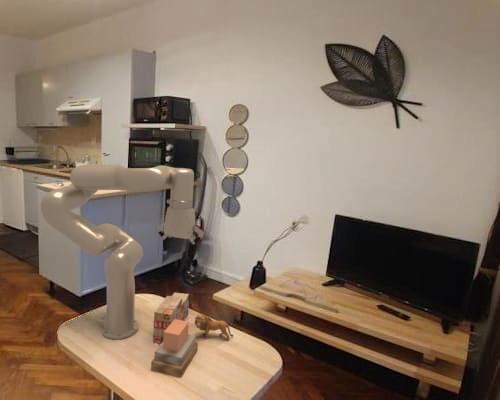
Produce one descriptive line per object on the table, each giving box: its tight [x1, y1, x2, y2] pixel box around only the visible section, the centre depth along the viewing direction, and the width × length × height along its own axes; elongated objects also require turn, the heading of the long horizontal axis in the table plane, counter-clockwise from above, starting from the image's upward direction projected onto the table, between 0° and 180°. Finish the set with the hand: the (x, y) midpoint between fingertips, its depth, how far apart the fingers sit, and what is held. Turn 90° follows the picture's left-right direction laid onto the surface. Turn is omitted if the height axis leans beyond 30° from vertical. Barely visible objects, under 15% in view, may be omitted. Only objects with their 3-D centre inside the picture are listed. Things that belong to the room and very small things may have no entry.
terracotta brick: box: [163, 319, 190, 352], centre depth 109 cm, size 5×8×6 cm, turn 167°
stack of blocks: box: [152, 292, 190, 345], centre depth 127 cm, size 21×6×12 cm, turn 173°
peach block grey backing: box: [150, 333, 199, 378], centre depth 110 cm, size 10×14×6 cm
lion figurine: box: [194, 314, 234, 342], centre depth 124 cm, size 15×5×9 cm, turn 98°
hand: (179, 251), depth 118 cm, fingers open, 9 cm apart
